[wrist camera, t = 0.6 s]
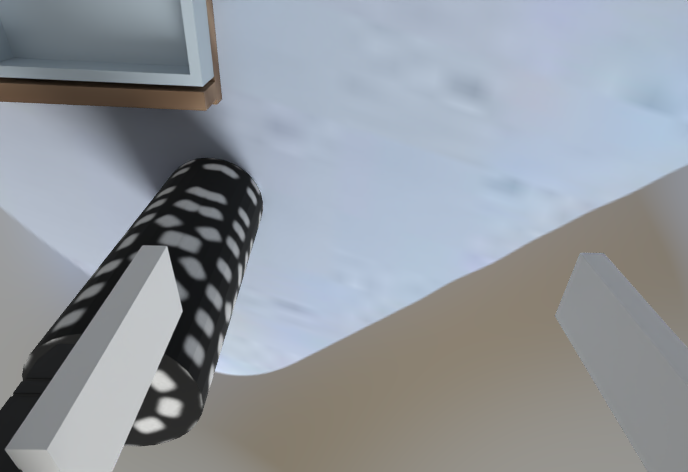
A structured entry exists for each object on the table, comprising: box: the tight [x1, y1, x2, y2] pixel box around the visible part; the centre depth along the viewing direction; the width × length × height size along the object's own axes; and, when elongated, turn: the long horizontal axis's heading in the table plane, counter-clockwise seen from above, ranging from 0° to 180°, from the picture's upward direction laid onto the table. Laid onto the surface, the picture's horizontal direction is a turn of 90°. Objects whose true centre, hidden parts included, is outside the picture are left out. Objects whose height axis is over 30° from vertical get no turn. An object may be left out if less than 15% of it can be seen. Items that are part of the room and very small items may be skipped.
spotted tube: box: [22, 158, 263, 446], centre depth 29 cm, size 8×8×20 cm
